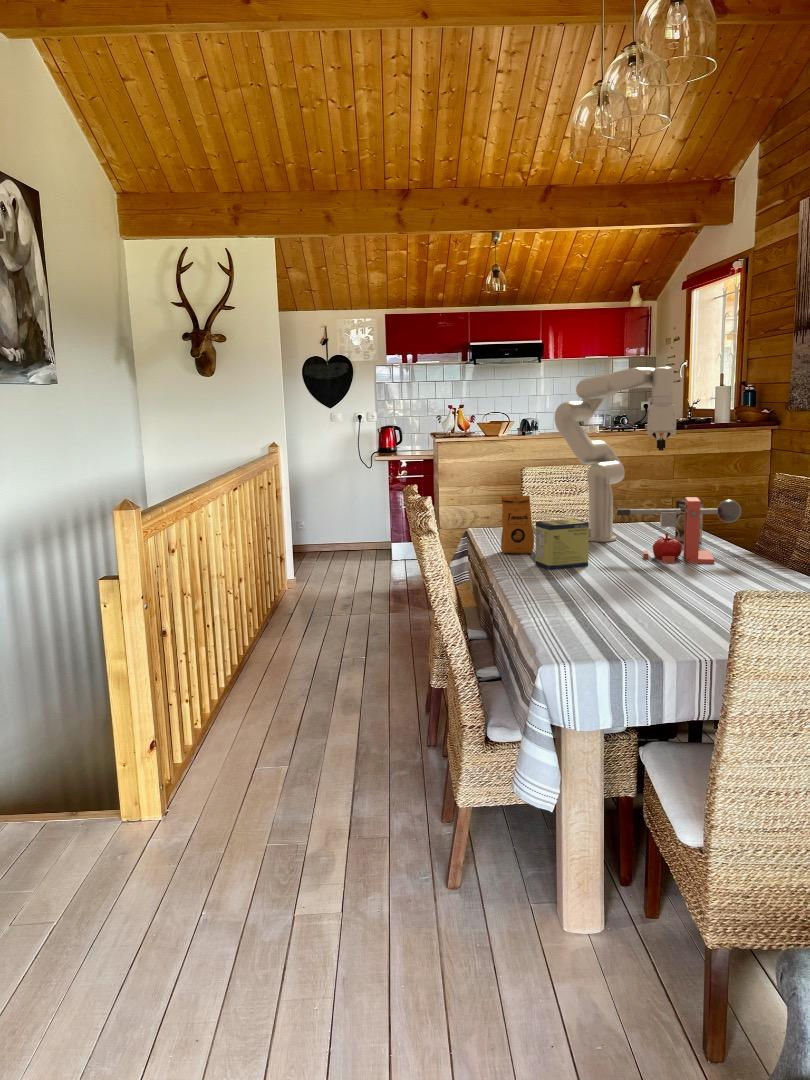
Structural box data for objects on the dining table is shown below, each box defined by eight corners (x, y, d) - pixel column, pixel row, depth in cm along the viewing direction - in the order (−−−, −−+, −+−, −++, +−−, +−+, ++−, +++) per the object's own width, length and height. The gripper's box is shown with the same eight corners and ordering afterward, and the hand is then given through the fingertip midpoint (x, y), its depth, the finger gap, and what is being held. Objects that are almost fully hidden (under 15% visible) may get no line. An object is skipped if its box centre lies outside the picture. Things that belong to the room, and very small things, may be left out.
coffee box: (674, 539, 317) (675, 500, 314) (687, 538, 319) (689, 499, 316) (688, 543, 308) (690, 502, 306) (702, 542, 310) (704, 501, 307)
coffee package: (534, 555, 294) (534, 496, 290) (500, 555, 296) (500, 497, 292) (533, 550, 304) (533, 493, 300) (501, 550, 306) (500, 494, 302)
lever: (617, 527, 281) (617, 502, 279) (617, 523, 288) (617, 499, 287) (742, 527, 270) (743, 501, 268) (739, 523, 277) (739, 498, 276)
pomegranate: (676, 562, 275) (677, 536, 273) (648, 559, 281) (649, 534, 279) (685, 557, 283) (686, 531, 281) (658, 554, 289) (658, 529, 287)
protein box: (589, 566, 273) (589, 521, 270) (548, 570, 268) (548, 525, 265) (573, 560, 282) (574, 518, 280) (534, 564, 278) (534, 521, 275)
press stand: (644, 562, 276) (645, 501, 273) (643, 553, 292) (644, 496, 288) (714, 563, 270) (716, 502, 267) (709, 554, 286) (711, 496, 282)
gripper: (641, 401, 292) (640, 451, 295) (684, 400, 288) (682, 450, 291) (641, 401, 299) (640, 450, 303) (682, 400, 295) (681, 449, 299)
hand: (660, 450), depth 297 cm, fingers closed
